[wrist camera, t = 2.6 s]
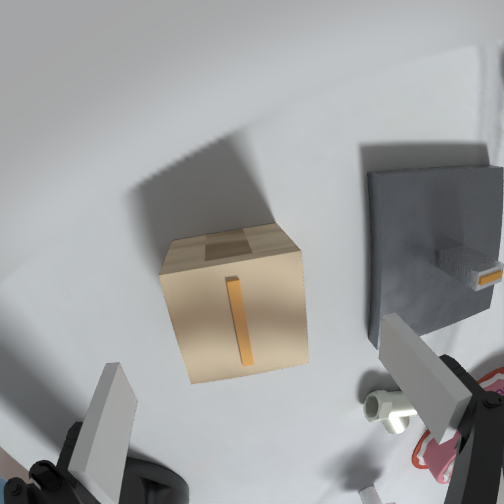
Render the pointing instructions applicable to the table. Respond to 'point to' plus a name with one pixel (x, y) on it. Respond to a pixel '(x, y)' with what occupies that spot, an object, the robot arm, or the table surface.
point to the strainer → (370, 496)
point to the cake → (444, 454)
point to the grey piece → (434, 244)
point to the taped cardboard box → (236, 302)
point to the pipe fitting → (389, 410)
